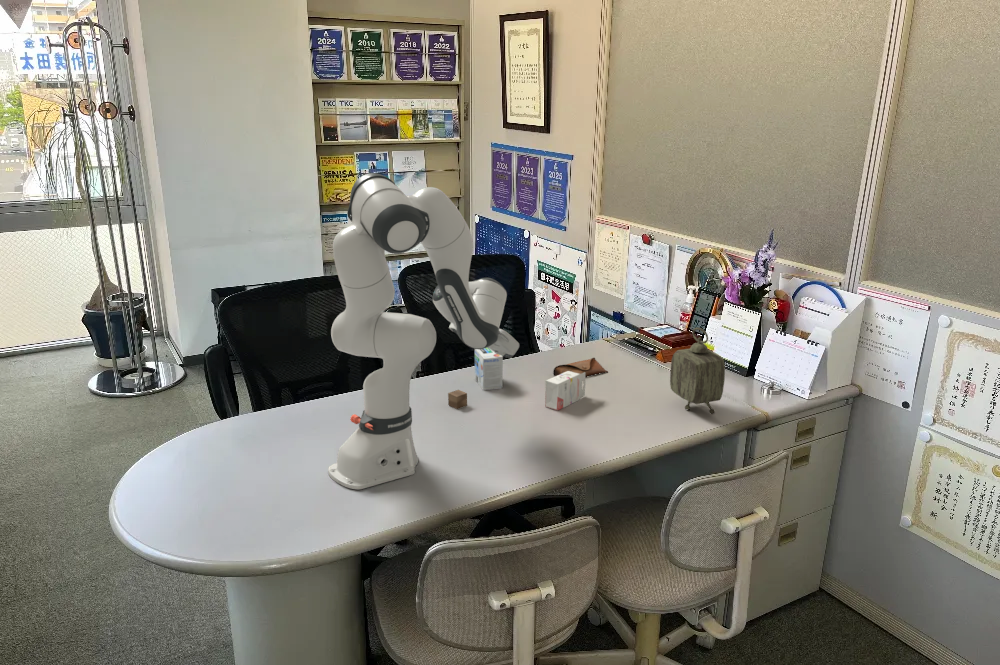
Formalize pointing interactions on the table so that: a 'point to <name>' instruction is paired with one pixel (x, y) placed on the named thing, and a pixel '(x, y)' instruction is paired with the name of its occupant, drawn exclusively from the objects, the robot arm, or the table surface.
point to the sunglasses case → (581, 368)
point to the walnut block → (457, 399)
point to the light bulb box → (488, 369)
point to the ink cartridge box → (564, 390)
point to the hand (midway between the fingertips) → (501, 352)
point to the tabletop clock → (697, 374)
